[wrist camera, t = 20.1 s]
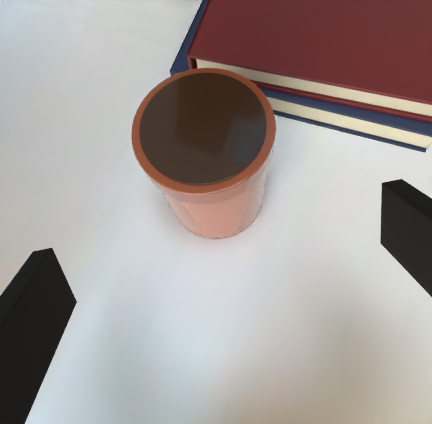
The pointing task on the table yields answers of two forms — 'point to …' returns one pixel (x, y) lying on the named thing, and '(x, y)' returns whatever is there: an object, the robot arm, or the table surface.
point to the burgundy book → (325, 50)
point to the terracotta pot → (207, 148)
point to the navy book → (331, 110)
